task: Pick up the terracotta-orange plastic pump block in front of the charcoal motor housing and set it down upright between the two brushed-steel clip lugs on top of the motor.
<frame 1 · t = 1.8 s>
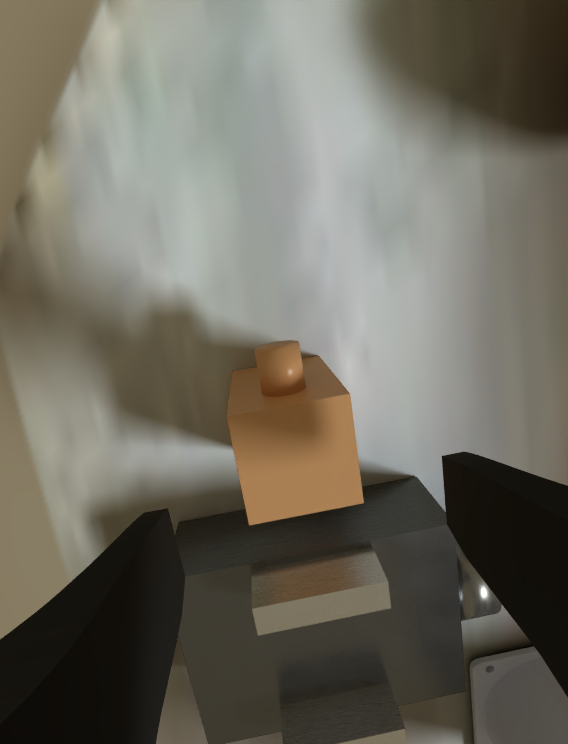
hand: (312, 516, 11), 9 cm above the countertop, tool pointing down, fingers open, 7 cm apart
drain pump: (282, 404, 20), on the countertop
motor: (311, 575, 22), on the countertop
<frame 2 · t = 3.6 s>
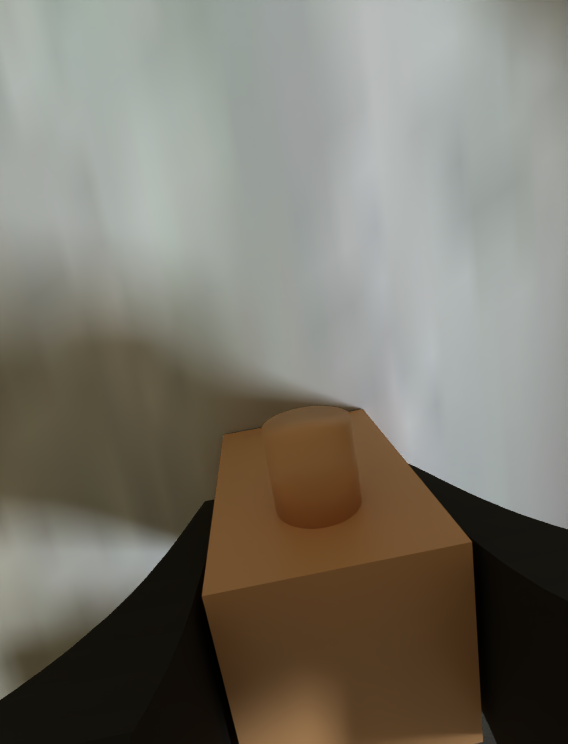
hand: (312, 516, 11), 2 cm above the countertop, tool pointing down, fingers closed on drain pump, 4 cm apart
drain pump: (304, 484, 12), on the countertop, touching gripper
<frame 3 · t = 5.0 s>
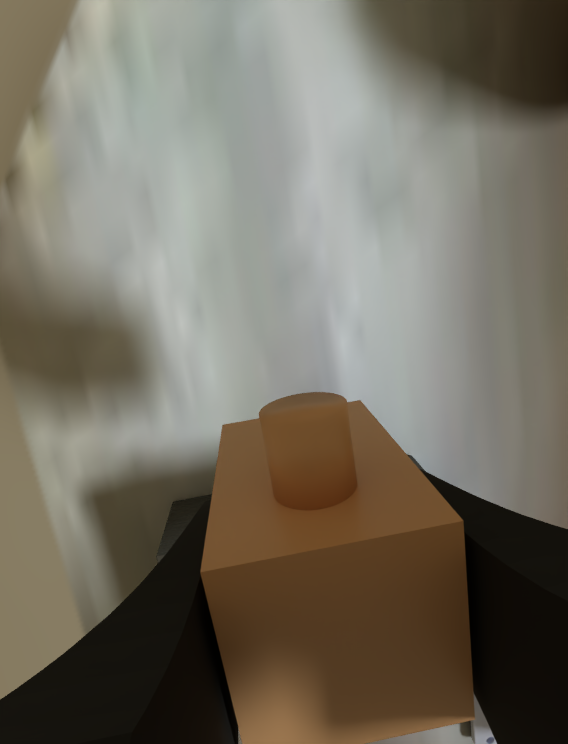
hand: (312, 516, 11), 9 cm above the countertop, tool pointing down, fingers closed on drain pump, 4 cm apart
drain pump: (302, 475, 13), point 7 cm above the countertop, touching gripper
motor: (307, 555, 22), on the countertop
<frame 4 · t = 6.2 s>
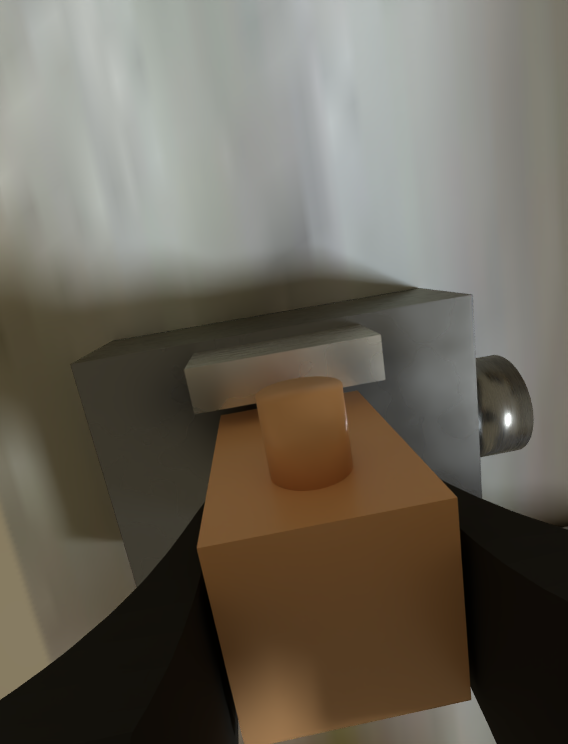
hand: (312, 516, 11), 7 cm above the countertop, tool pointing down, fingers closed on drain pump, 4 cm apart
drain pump: (300, 465, 13), point 5 cm above the countertop, touching gripper
motor: (287, 422, 17), on the countertop
when the fingers open (7 cm above the countertop, at t = 6.8 s): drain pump stays where it is, resting on motor.
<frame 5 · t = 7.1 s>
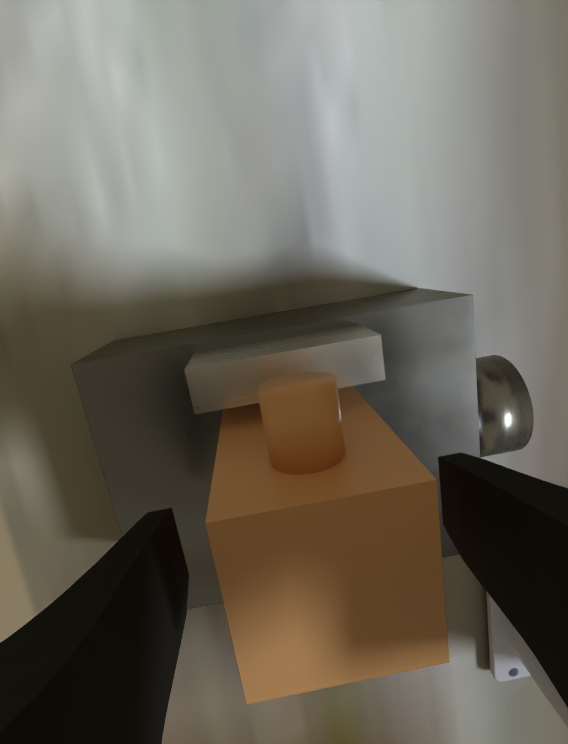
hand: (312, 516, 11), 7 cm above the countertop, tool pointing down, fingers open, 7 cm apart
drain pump: (297, 455, 13), point 4 cm above the countertop, touching motor
motor: (287, 422, 17), on the countertop
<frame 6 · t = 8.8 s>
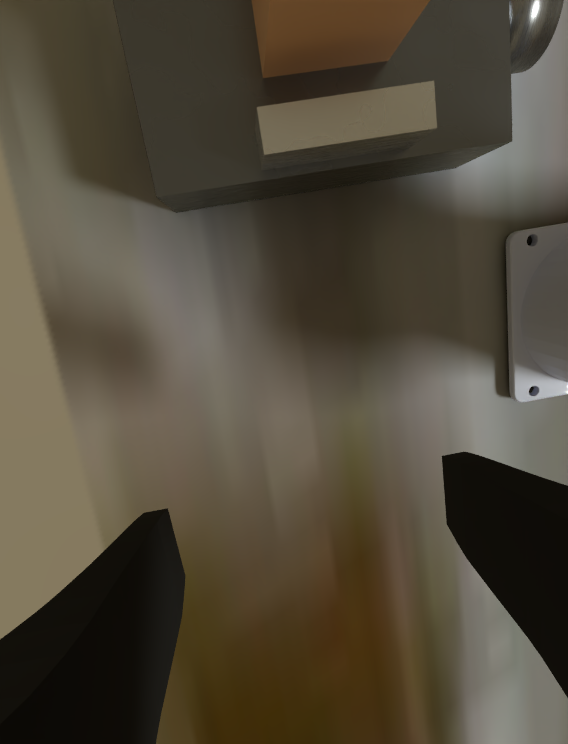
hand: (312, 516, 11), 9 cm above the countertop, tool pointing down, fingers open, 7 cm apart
motor: (302, 68, 17), on the countertop
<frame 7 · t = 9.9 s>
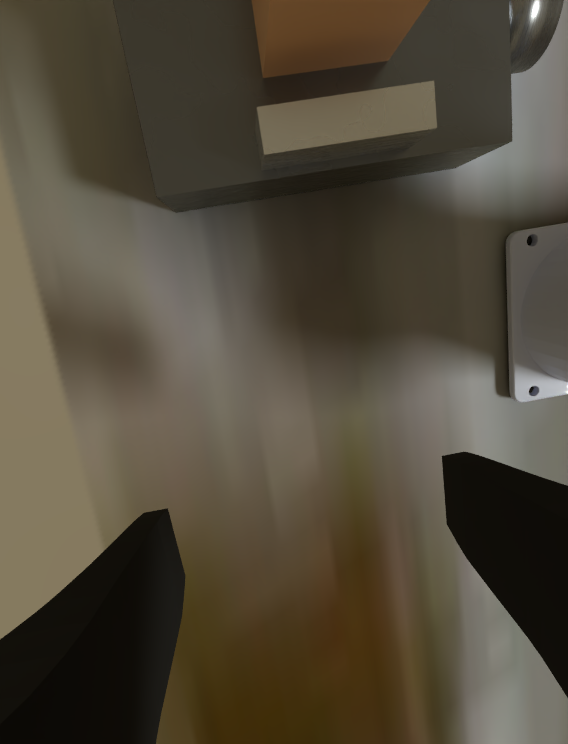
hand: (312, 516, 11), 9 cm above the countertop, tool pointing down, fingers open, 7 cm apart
motor: (302, 68, 17), on the countertop
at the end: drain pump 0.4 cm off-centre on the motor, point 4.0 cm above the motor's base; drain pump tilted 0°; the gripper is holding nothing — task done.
